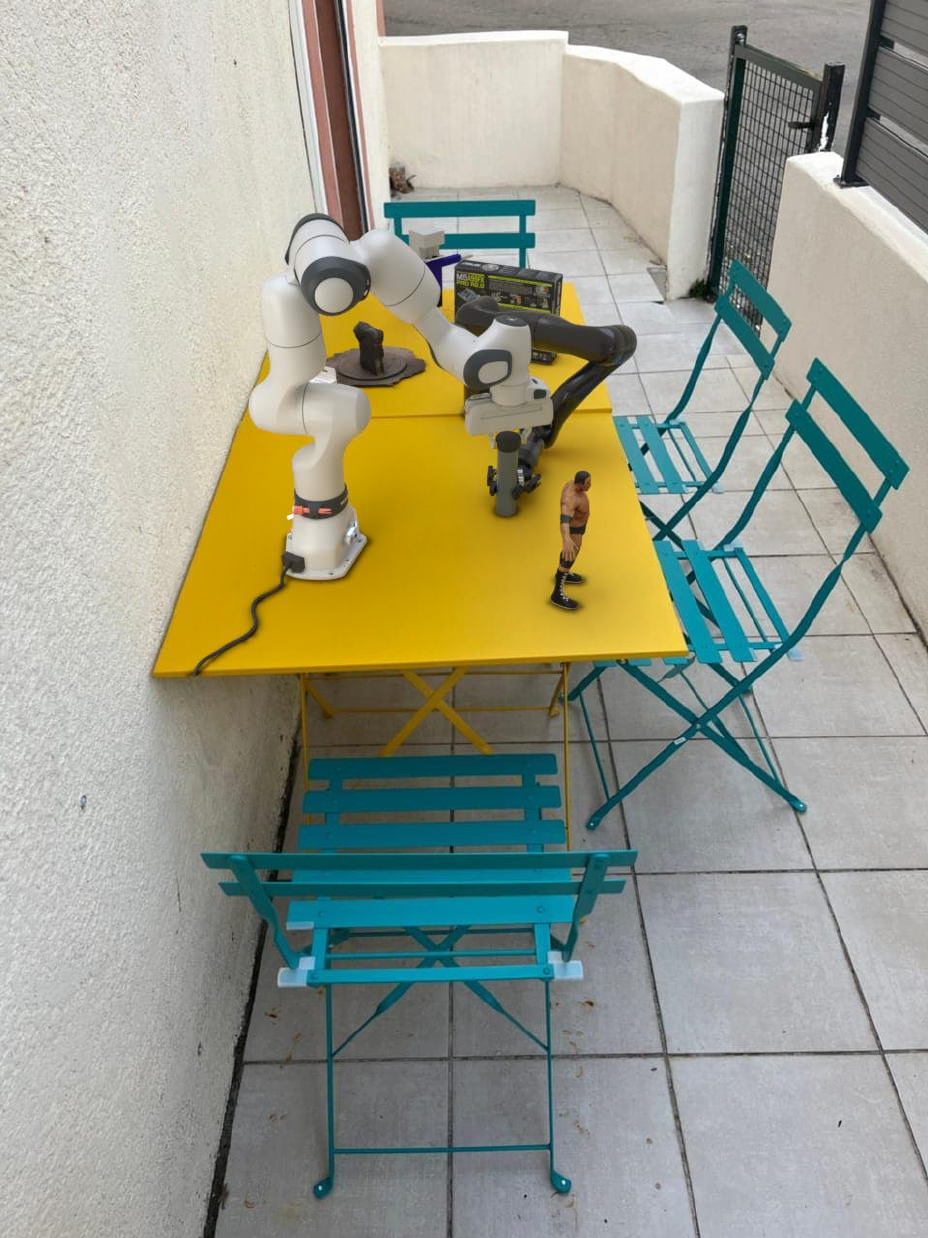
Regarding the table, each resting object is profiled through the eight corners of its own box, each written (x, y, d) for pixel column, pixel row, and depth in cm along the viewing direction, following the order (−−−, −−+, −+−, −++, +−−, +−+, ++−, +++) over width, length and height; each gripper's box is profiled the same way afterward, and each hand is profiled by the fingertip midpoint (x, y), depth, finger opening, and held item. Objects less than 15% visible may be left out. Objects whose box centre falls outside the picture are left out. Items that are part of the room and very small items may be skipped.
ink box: (306, 417, 253) (300, 368, 244) (316, 410, 257) (310, 362, 247) (331, 424, 250) (326, 375, 241) (341, 416, 254) (336, 368, 244)
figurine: (575, 629, 182) (588, 506, 163) (545, 625, 183) (554, 502, 164) (587, 560, 200) (599, 442, 181) (559, 557, 201) (568, 439, 182)
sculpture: (406, 397, 263) (403, 345, 252) (297, 384, 270) (290, 333, 259) (437, 352, 287) (436, 303, 277) (336, 341, 294) (331, 293, 284)
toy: (460, 304, 319) (459, 216, 299) (477, 312, 313) (477, 222, 294) (381, 329, 302) (375, 237, 283) (398, 337, 296) (393, 244, 277)
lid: (489, 445, 204) (489, 436, 203) (507, 436, 207) (508, 427, 206) (507, 455, 201) (508, 446, 200) (526, 445, 204) (526, 437, 203)
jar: (516, 505, 218) (519, 434, 205) (515, 516, 214) (518, 445, 201) (496, 504, 218) (498, 433, 205) (494, 515, 215) (496, 444, 201)
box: (558, 356, 284) (564, 271, 267) (551, 365, 279) (556, 279, 262) (462, 341, 294) (461, 258, 277) (453, 349, 289) (452, 265, 271)
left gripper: (468, 402, 191) (469, 459, 200) (557, 389, 195) (554, 445, 204) (460, 390, 195) (461, 445, 204) (547, 377, 200) (544, 432, 209)
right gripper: (495, 442, 222) (474, 476, 209) (551, 451, 218) (533, 486, 206) (494, 468, 227) (474, 503, 214) (549, 478, 223) (531, 513, 211)
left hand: (508, 445), depth 204 cm, fingers closed on lid, 5 cm apart
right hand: (503, 494), depth 210 cm, fingers closed on jar, 5 cm apart
